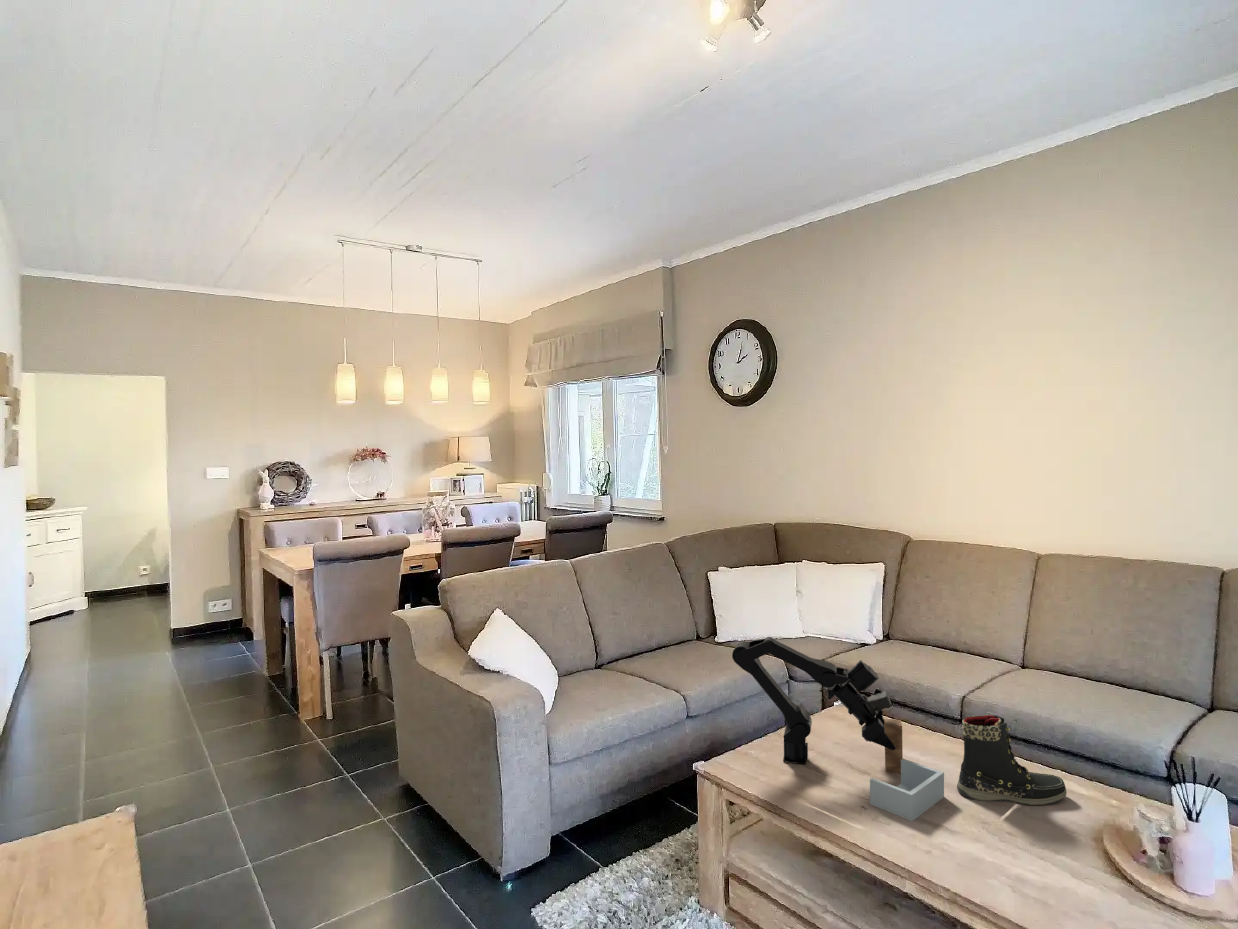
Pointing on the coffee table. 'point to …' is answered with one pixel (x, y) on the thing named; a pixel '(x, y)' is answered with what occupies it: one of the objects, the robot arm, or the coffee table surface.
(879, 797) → the crate
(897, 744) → the walnut block
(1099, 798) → the coffee table surface
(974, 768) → the boot
